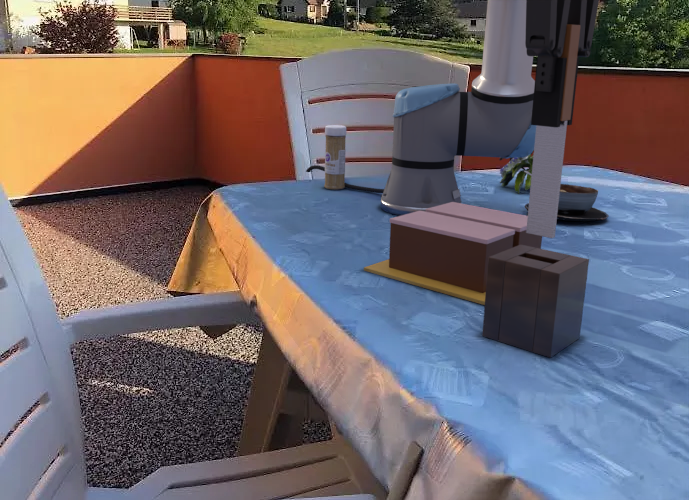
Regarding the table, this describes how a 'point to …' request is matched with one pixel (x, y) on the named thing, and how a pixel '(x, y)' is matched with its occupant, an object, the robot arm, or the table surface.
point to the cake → (451, 247)
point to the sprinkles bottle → (335, 157)
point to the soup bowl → (577, 203)
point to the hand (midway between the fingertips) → (551, 124)
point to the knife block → (535, 299)
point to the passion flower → (513, 168)
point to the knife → (552, 152)
